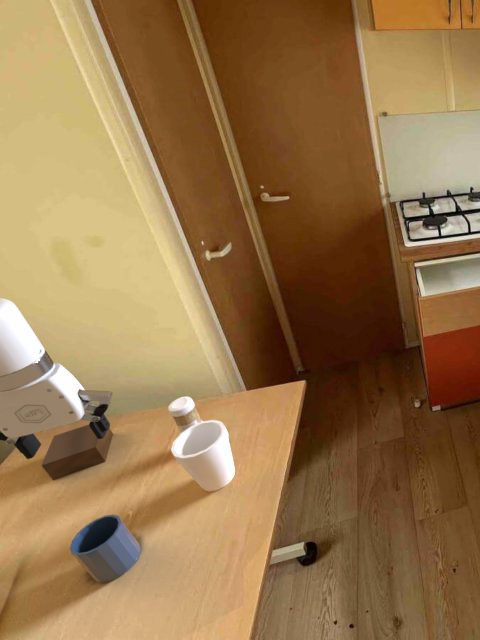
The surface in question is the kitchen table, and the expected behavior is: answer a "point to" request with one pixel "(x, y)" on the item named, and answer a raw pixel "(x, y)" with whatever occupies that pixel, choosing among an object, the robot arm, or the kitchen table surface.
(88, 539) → the cup
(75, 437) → the block
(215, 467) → the foam cup
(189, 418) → the sprinkles bottle
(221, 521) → the kitchen table surface
